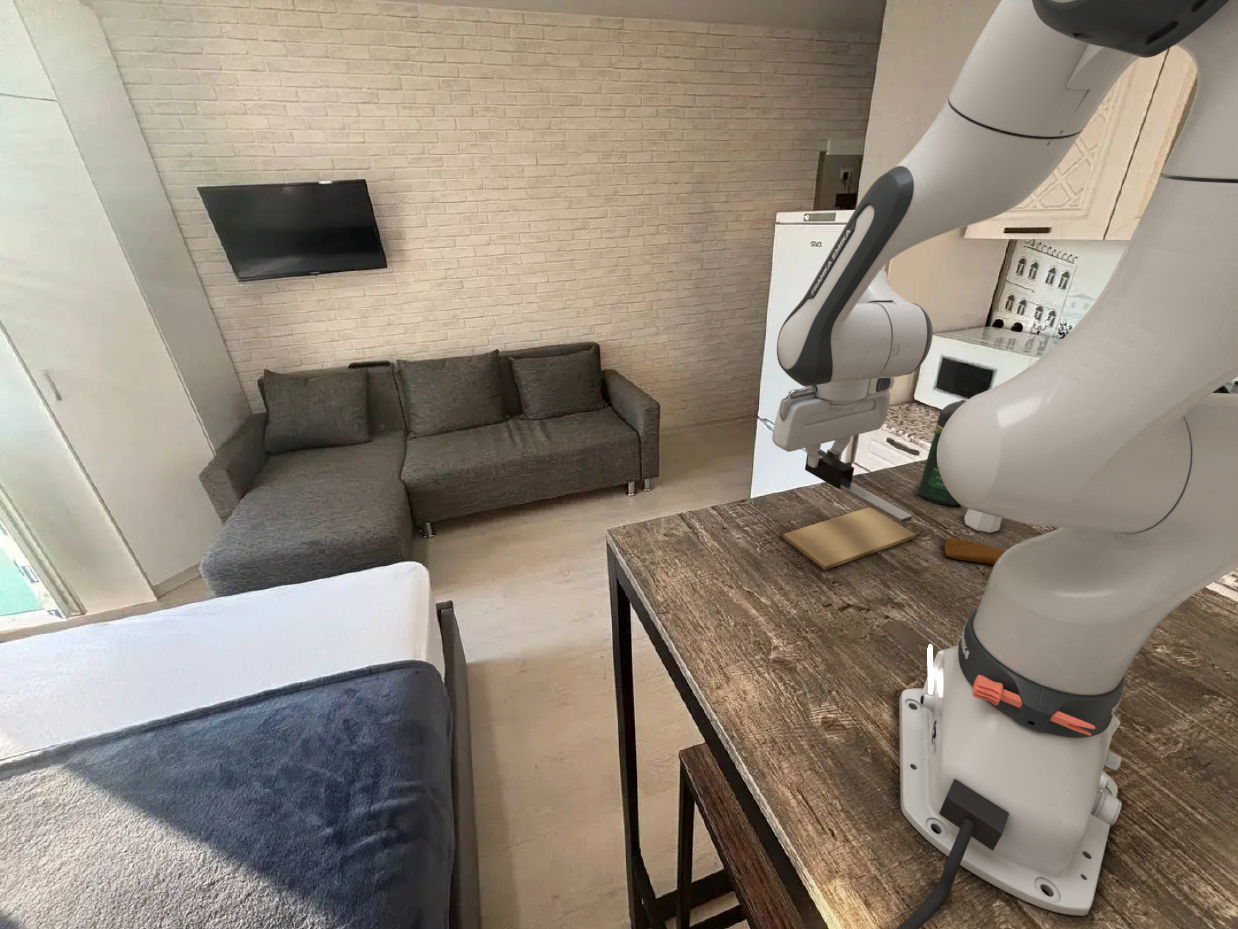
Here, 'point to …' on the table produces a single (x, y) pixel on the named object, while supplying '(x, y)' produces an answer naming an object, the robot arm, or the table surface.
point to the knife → (853, 486)
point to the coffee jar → (931, 477)
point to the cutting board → (848, 537)
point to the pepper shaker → (982, 521)
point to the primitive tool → (971, 551)
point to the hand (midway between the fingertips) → (823, 463)
